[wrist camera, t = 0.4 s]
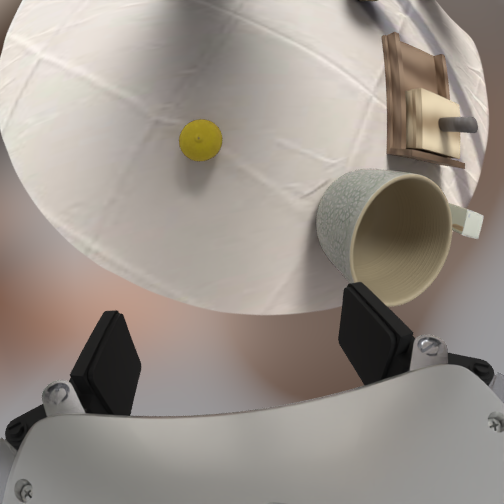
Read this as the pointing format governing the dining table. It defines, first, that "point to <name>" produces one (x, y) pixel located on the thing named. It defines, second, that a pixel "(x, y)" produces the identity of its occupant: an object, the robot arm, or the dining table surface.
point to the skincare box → (465, 221)
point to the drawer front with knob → (435, 124)
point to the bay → (407, 78)
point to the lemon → (200, 140)
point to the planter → (386, 231)
